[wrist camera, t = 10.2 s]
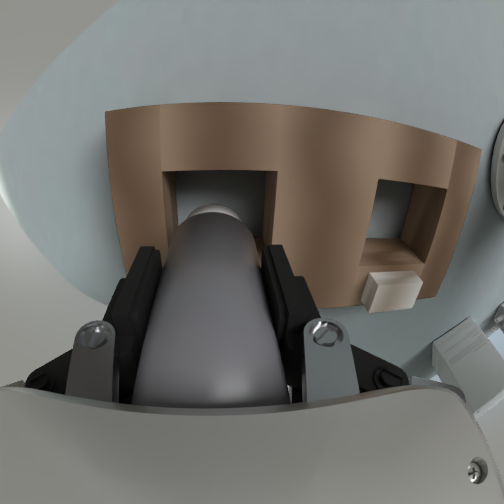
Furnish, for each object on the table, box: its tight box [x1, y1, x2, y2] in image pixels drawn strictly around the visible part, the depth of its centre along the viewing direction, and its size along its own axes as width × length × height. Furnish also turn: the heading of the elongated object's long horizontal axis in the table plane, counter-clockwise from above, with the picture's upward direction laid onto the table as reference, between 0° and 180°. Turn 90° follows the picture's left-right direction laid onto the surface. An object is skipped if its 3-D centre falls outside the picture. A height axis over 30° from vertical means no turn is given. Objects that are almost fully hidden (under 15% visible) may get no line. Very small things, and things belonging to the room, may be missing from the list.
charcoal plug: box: [131, 204, 291, 409], centre depth 10 cm, size 4×4×12 cm
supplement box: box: [432, 316, 504, 419], centre depth 27 cm, size 7×7×13 cm
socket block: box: [105, 102, 482, 313], centre depth 17 cm, size 24×13×6 cm, turn 88°
